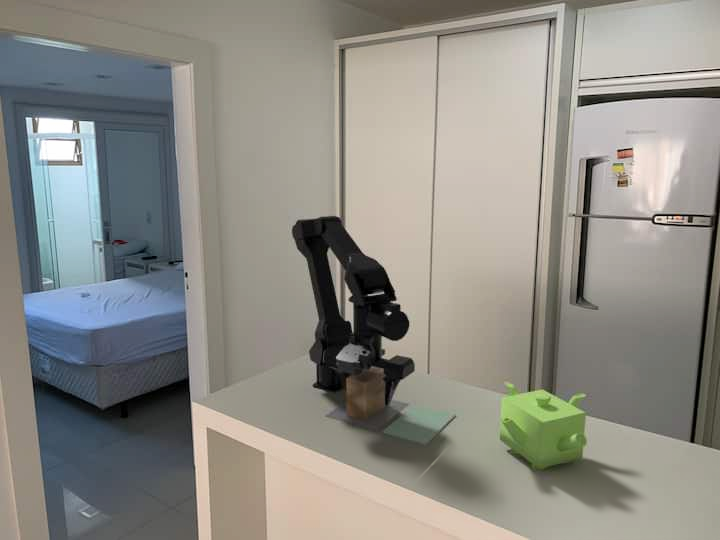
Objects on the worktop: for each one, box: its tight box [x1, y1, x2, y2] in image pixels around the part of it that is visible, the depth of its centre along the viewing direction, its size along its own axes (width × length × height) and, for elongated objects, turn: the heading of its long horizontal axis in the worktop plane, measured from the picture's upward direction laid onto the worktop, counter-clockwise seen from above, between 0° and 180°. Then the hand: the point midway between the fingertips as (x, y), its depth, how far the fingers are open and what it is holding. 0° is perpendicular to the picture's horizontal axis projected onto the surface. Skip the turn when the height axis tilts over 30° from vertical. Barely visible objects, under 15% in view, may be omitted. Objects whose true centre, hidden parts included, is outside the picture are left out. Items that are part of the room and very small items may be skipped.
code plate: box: [324, 398, 410, 431], centre depth 117 cm, size 12×14×1 cm
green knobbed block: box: [499, 381, 588, 472], centre depth 98 cm, size 15×14×11 cm
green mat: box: [382, 404, 457, 446], centre depth 110 cm, size 9×14×1 cm, turn 148°
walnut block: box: [345, 366, 386, 421], centre depth 116 cm, size 5×9×8 cm, turn 148°
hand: (367, 400), depth 116 cm, fingers open, 9 cm apart
